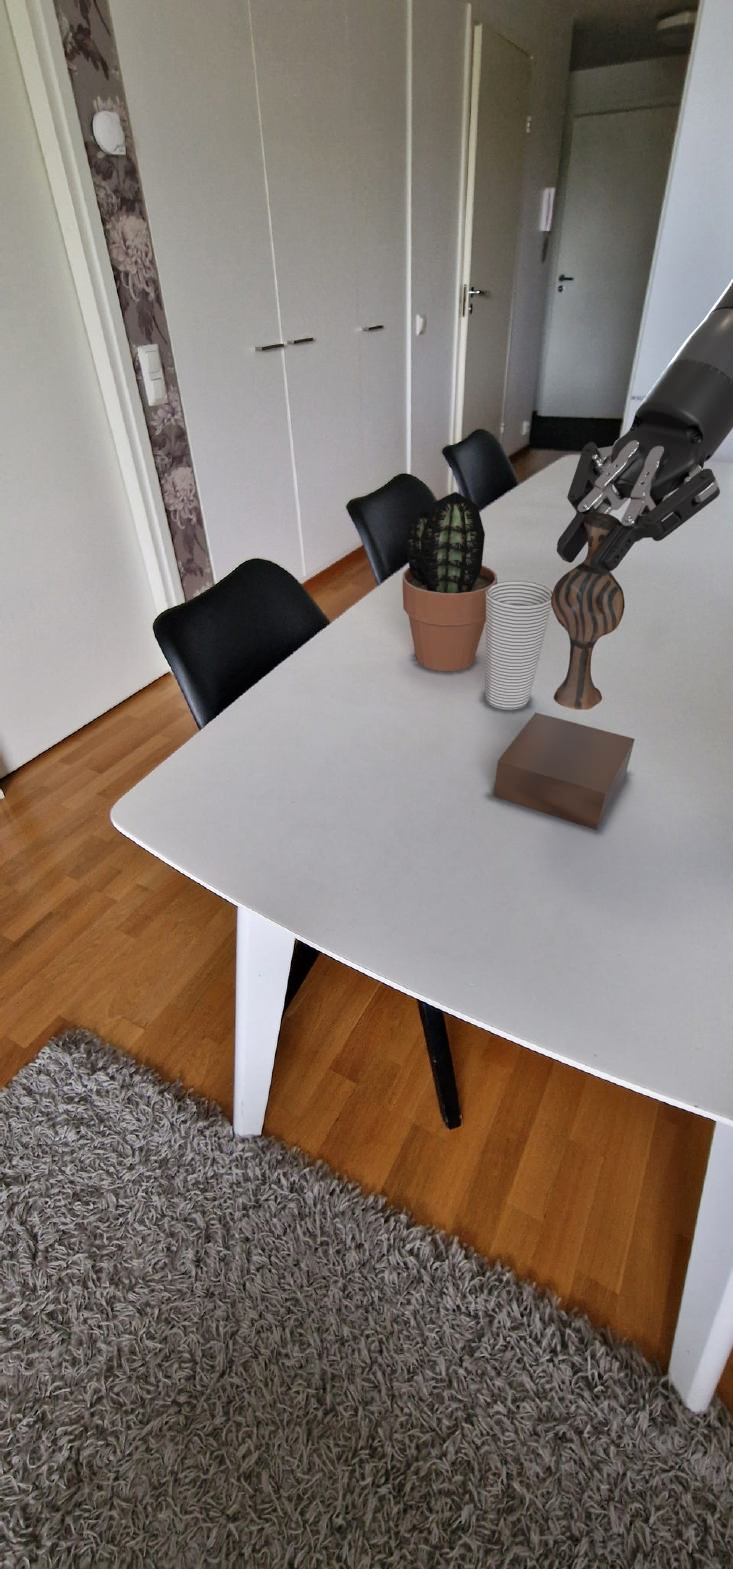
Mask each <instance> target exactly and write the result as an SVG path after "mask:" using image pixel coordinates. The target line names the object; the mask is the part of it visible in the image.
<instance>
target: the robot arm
mask: <svg viewBox="0 0 733 1569" xmlns="http://www.w3.org/2000/svg"><path fill="white" fill-rule="evenodd" d="M732 430H733V279H732V280H731V281H730V283H729V284H728V285H727V287H726V288H725V290H724V291H723V292H722V294H721V295H720V297H719V298H718V300H717V301H716V303H715V304H714V305H713V307H712V308H711V309H710V311H709V312H708V314H707V315H706V316H705V318H704V319H703V321H701V323H700V324H699V325H698V326H697V327H696V328H695V329H694V330H693V332H691V334H690V335H689V336H688V337H687V338H686V340H685V341H684V342H683V344H682V345H681V346H680V348H679V349H678V351H677V352H676V353H675V354H674V356H673V357H672V359H671V360H670V362H669V363H668V364H667V366H666V367H665V369H664V370H663V371H662V373H661V374H660V376H659V377H658V379H657V380H656V381H655V383H654V384H653V386H652V387H651V388H650V390H649V391H648V393H647V394H646V395H645V397H644V398H643V400H642V401H641V403H640V404H639V405H638V407H637V409H636V411H635V414H634V417H633V420H632V424H631V426H630V428H629V429H628V430H627V431H626V432H625V433H624V434H622V436H620V437H619V438H618V439H617V440H615V442H614V443H613V445H610V446H604V447H598V446H597V444H596V443H595V442H594V441H590V442H588V443H586V444H585V445H584V446H583V447H582V450H581V453H580V457H579V460H578V461H577V462H578V463H577V466H576V468H575V471H574V475H573V478H572V480H571V483H570V487H569V490H568V493H567V496H566V498H567V500H568V501H569V504H570V505H571V506H572V508H573V509H574V511H575V512H576V513H575V515H574V517H573V518H572V520H571V521H570V522H569V524H568V525H567V527H566V528H565V530H563V532H562V534H561V535H560V537H559V538H558V540H557V543H556V545H557V546H556V554H558V555H559V557H560V559H562V561H564V562H566V563H569V564H571V563H573V562H574V561H575V560H576V559H577V557H578V555H579V554H580V553H581V551H582V550H583V548H584V547H585V545H586V544H588V535H587V530H586V528H585V526H584V522H583V519H584V517H585V515H587V514H589V513H596V512H597V513H606V514H610V513H612V511H618V510H619V509H621V507H622V506H623V505H624V504H625V503H626V502H627V501H628V500H629V499H630V502H629V504H628V506H627V508H626V510H625V511H624V514H623V515H622V518H621V520H620V522H621V523H622V524H621V526H618V525H615V526H614V528H613V529H612V530H611V532H610V533H609V534H608V536H607V537H606V539H605V540H604V541H603V543H602V544H601V545H600V547H599V548H598V550H597V551H596V552H595V554H594V555H593V556H592V558H591V560H590V565H591V566H592V568H593V569H594V571H595V572H596V573H597V574H600V575H602V576H605V575H607V574H608V572H609V571H610V572H613V571H614V570H615V569H616V568H618V566H619V565H620V564H621V562H622V561H623V559H624V558H625V557H626V556H627V554H628V552H629V551H630V550H631V548H632V547H633V546H634V544H635V543H637V542H640V541H641V540H643V539H651V538H652V540H653V541H654V542H660V541H662V540H664V539H665V538H667V537H668V536H669V535H671V534H672V533H673V532H674V531H676V530H677V529H678V528H679V527H681V526H682V525H684V523H686V522H687V521H688V520H690V519H691V518H692V517H694V516H695V515H697V514H698V513H699V512H700V511H702V510H703V509H704V508H705V507H707V506H708V505H710V503H712V502H713V501H714V500H716V499H718V497H719V496H720V494H721V490H720V486H719V484H718V480H717V478H716V476H715V475H714V471H713V470H712V469H711V468H704V467H705V463H706V462H707V461H709V460H710V459H711V458H712V457H713V456H714V454H715V453H716V452H717V450H718V449H719V448H720V446H721V445H722V443H723V442H724V441H725V440H726V438H727V437H728V435H729V434H730V432H731V431H732ZM613 487H614V488H613ZM614 489H615V490H614Z"/></svg>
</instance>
